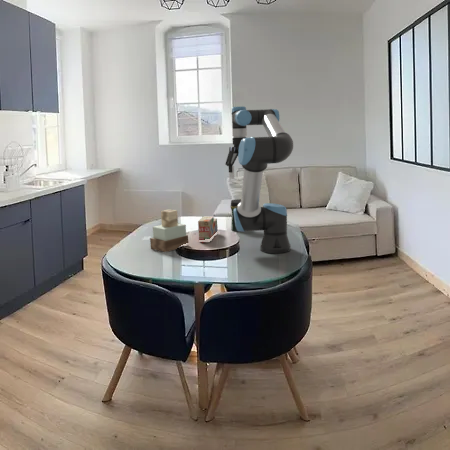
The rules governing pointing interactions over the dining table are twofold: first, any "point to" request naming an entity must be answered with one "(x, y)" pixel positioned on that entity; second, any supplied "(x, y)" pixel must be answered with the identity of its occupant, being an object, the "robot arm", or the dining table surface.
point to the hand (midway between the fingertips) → (240, 177)
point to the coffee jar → (233, 205)
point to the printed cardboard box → (207, 227)
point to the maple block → (169, 218)
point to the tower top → (169, 232)
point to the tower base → (168, 243)
